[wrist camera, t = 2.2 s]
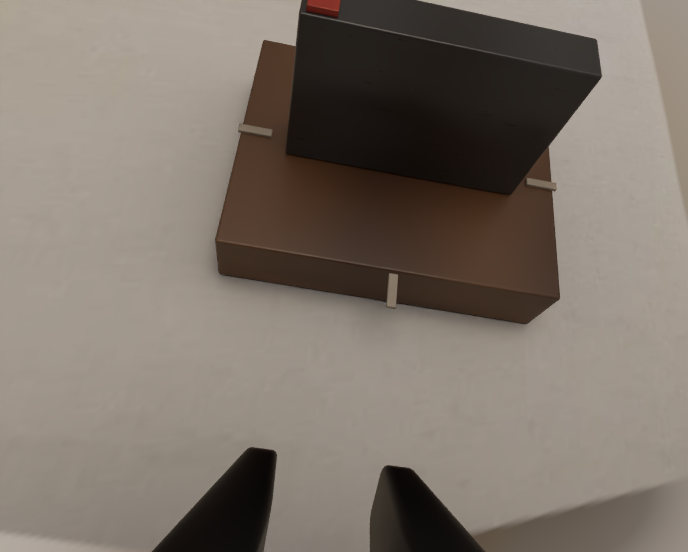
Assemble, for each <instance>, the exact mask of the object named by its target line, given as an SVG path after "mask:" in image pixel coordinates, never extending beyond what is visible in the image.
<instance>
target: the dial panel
mask: <svg viewBox="0 0 688 552" xmlns="http://www.w3.org/2000/svg"><path fill="white" fill-rule="evenodd" d="M295 49H296V46H291V45H286V44H282V43H277V42H272V41H267V40H264V41H263V44H262V48H261V52H260V56H259V60H258V64H257V68H256V73H255V77H254V81H253V85H252V89H251V93H250V98H249V102H248V106H247V110H246V114H245V118H244V123H243V124H240V125H239V129H238V132H240V133H241V135H240V139H239V143H238V148H237V152H236V156H235V160H234V164H233V168H232V172H231V177H230V181H229V185H228V189H227V193H226V197H225V202H224V206H223V210H222V214H221V218H220V222H219V227H218V231H217V235H216V239H215V243H216V252H217V261H218V271H219V274H223V275H230V276H236V277H242V278H248V279H254V280H260V281H267V282H273V283H279V284H285V285H291V286H297V287H304V288H310V289H316V290H322V291H328V292H334V293H341V294H347V295H353V296H359V297H365V298H371V299H378V300H384V301H386V307H387V308H393V309H395V308H396V303H402V304H408V305H415V306H421V307H427V308H433V309H439V310H445V311H452V312H458V313H464V314H470V315H476V316H482V317H489V318H495V319H501V320H507V321H513V322H520V323H526V324H527V323H529V322H530V321H532V320H533V319H534V318H535V317H537V316H538V315H539V314H541V313H542V312H543V311H545V310H546V309H547V308H549V307H550V306H551V305H552V304H554V303H555V302H556V301H558V300H559V299H560V291H559V278H558V265H557V251H556V238H555V225H554V211H553V198H552V191H556V190H557V188H556V183H553V182H551V171H550V158H549V146H548V148H547V149H546V150H545V152H544V153H543V154H542V155H541V157H540V158H539V159H538V161H537V162H536V163H535V165H534V166H533V167H532V168H531V170H530V171H529V172H528V174H527V175H526V176H525V178H524V179H523V180H522V181H521V183H520V184H519V185H518V187H517V188H516V189H515V191H514V192H513V193H512V194H511V195H508V194H502V193H497V192H492V191H486V190H481V189H475V188H470V187H464V186H459V185H454V184H448V183H443V182H437V181H432V180H427V179H421V178H416V177H410V176H405V175H400V174H394V173H389V172H383V171H378V170H373V169H367V168H362V167H356V166H351V165H345V164H340V163H335V162H329V161H324V160H318V159H313V158H308V157H302V156H297V155H291V154H287V153H286V152H285V150H286V140H287V130H288V120H289V110H290V99H291V89H292V79H293V69H294V59H295Z"/></svg>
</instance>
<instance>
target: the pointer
mask: <svg viewBox="0 0 688 552" xmlns="http://www.w3.org/2000/svg"><path fill="white" fill-rule="evenodd" d="M601 77H602V74H601V66H600V59H599V52H598V45H597V40H596V39H593V38H589V37H584V36H580V35H575V34H570V33H566V32H561V31H556V30H552V29H547V28H543V27H538V26H533V25H529V24H524V23H519V22H515V21H510V20H506V19H501V18H496V17H492V16H487V15H483V14H478V13H473V12H469V11H464V10H459V9H455V8H450V7H446V6H441V5H436V4H432V3H427V2H422V1H418V0H302V1H301V6H300V11H299V19H298V29H297V39H296V49H295V59H294V69H293V79H292V89H291V99H290V110H289V120H288V130H287V140H286V150H285V152H286V153H287V154H291V155H297V156H302V157H308V158H313V159H318V160H324V161H329V162H335V163H340V164H345V165H351V166H356V167H362V168H367V169H373V170H378V171H383V172H389V173H394V174H400V175H405V176H410V177H416V178H421V179H427V180H432V181H437V182H443V183H448V184H454V185H459V186H464V187H470V188H475V189H481V190H486V191H492V192H497V193H502V194H508V195H511V194H512V193H513V192H514V191H515V189H516V188H517V187H518V185H519V184H520V183H521V181H522V180H523V179H524V178H525V176H526V175H527V174H528V172H529V171H530V170H531V168H532V167H533V166H534V165H535V163H536V162H537V161H538V159H539V158H540V157H541V155H542V154H543V153H544V152H545V150H546V149H547V148H548V146H549V145H550V144H551V142H552V141H553V140H554V139H555V137H556V136H557V135H558V133H559V132H560V131H561V129H562V128H563V127H564V126H565V124H566V123H567V122H568V120H569V119H570V118H571V116H572V115H573V114H574V113H575V111H576V110H577V109H578V107H579V106H580V105H581V103H582V102H583V101H584V100H585V98H586V97H587V96H588V94H589V93H590V92H591V90H592V89H593V88H594V87H595V85H596V84H597V83H598V81H599V80H600V79H601Z"/></svg>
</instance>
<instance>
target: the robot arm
mask: <svg viewBox="0 0 688 552" xmlns="http://www.w3.org/2000/svg"><path fill="white" fill-rule="evenodd" d="M276 460H277V454H276V452H275V451H274V450H269V449H262V448H254V447H250V448H248V449H247V450H246V451H245V452H244V453H243V454H242V455H241V456H240V457H239V458H238V459H237V460H236V461H235V463H234V464H233V465H232V466H231V467H230V468H229V469H228V470H227V471H226V472H225V473H224V474H223V475H222V477H221V478H220V479H219V480H218V481H217V482H216V483H215V484H214V485H213V486H212V487H211V488H210V489H209V491H208V492H207V493H206V494H205V495H204V496H203V497H202V498H201V499H200V500H199V501H198V502H197V503H196V505H195V506H194V507H193V508H192V509H191V510H190V511H189V512H188V513H187V514H186V515H185V516H184V518H183V519H182V520H181V521H180V522H179V523H178V524H177V525H176V526H175V527H174V528H173V529H172V530H171V532H170V533H169V534H168V535H167V536H166V537H165V538H164V539H163V540H162V541H161V542H160V543H159V544H158V546H157V547H156V548H155V549H154V550H153V551H152V552H263V551H264V545H265V540H266V534H267V529H268V523H269V517H270V512H271V506H272V499H273V489H274V479H275V470H276ZM370 552H485V551H484V550H483V548H482V547H481V546H480V545H479V544H478V543H477V542H476V541H475V539H474V538H473V537H472V536H471V535H470V534H469V533H468V532H467V530H466V529H465V528H464V527H463V526H462V525H461V524H460V522H459V521H458V520H457V519H456V518H455V517H454V516H453V515H452V513H451V512H450V511H449V510H448V509H447V508H446V507H445V506H444V504H443V503H442V502H441V501H440V500H439V499H438V498H437V497H436V495H435V494H434V493H433V492H432V491H431V490H430V489H429V487H428V486H427V485H426V484H425V483H424V482H423V481H422V480H421V478H420V477H419V476H418V475H417V474H416V473H415V472H414V471H413V470H412V469H410V468H406V467H398V466H390V465H387V466H385V467H384V468H383V469H382V471H381V474H380V478H379V482H378V486H377V490H376V494H375V498H374V502H373V506H372V510H371V517H370Z"/></svg>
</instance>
